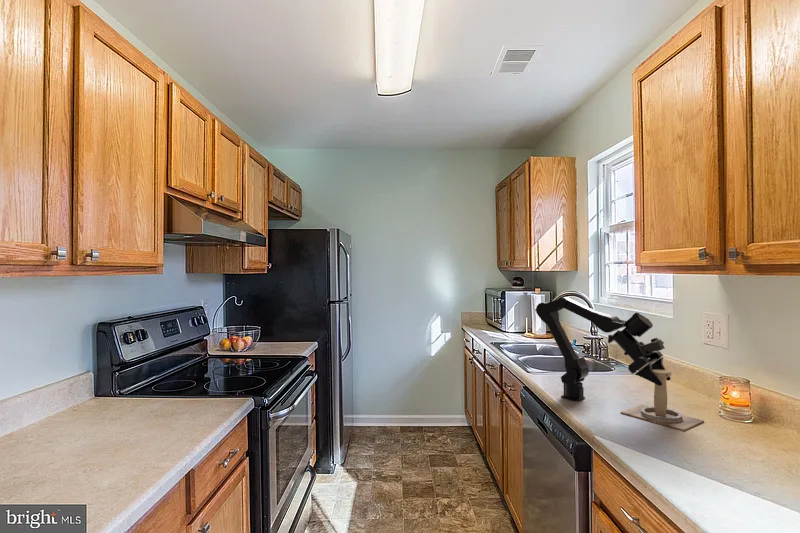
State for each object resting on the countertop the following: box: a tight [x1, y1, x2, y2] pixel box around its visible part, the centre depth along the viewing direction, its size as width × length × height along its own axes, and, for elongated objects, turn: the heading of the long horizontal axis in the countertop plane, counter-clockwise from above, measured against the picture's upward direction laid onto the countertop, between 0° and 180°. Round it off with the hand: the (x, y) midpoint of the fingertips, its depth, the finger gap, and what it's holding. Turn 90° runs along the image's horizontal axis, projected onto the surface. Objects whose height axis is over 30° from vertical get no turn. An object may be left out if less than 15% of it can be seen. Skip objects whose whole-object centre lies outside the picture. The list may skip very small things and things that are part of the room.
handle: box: [653, 369, 672, 417], centre depth 147 cm, size 5×6×15 cm
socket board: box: [620, 404, 705, 432], centre depth 147 cm, size 20×14×2 cm
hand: (665, 382), depth 146 cm, fingers open, 9 cm apart
